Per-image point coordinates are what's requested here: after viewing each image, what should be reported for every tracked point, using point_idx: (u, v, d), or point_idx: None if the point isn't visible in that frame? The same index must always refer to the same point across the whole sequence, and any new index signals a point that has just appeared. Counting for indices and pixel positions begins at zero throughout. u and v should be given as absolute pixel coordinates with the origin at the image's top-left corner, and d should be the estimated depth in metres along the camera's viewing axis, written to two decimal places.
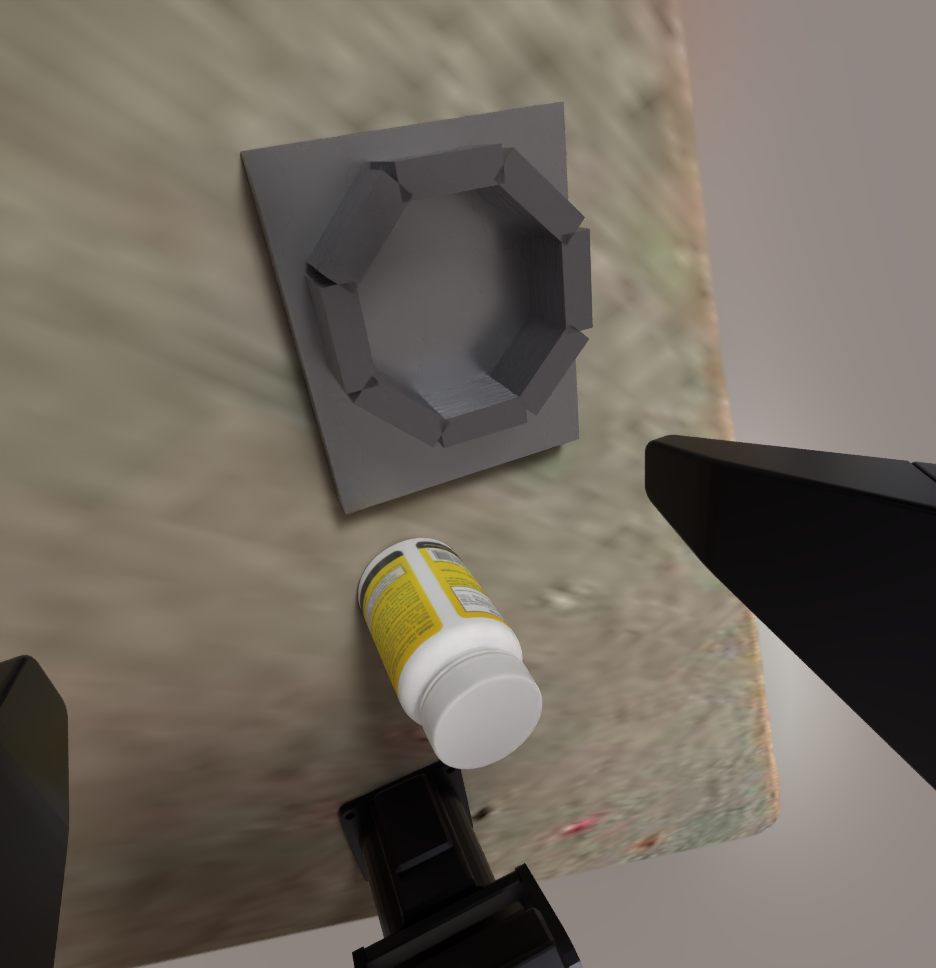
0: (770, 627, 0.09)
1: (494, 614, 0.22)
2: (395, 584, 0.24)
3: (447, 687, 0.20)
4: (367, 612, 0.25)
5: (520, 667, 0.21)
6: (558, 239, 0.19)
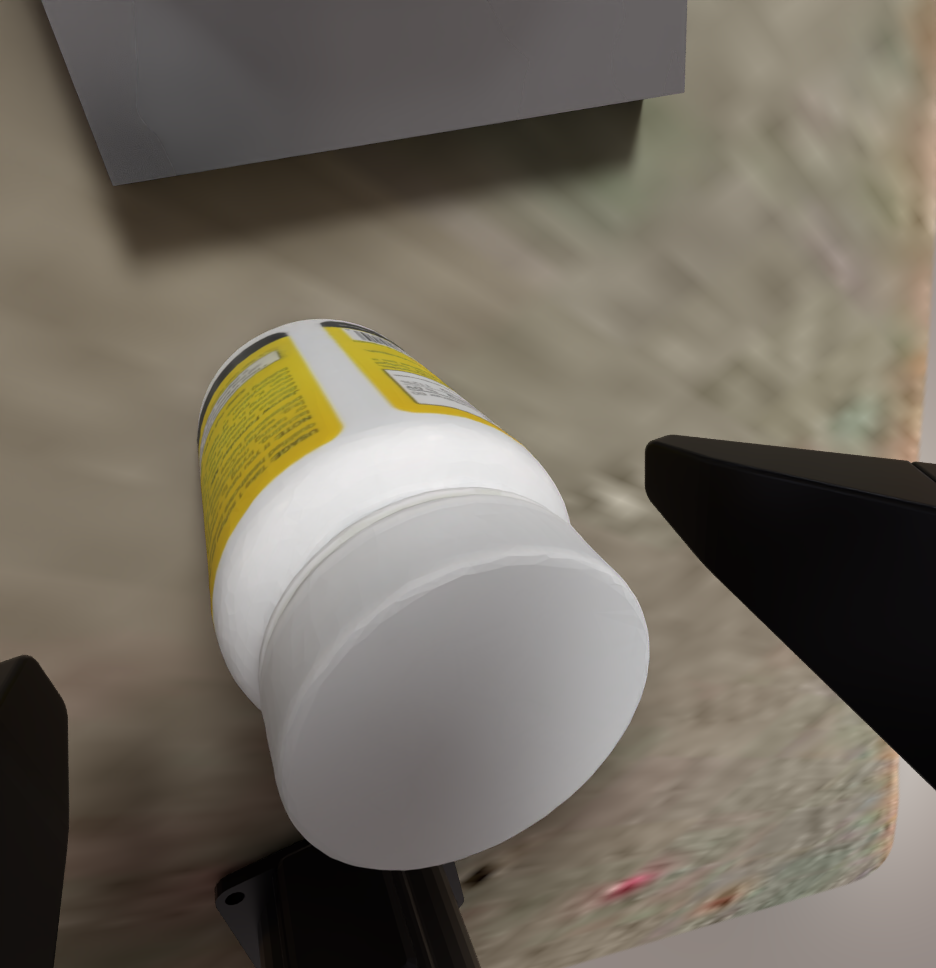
0: (769, 627, 0.09)
1: (498, 426, 0.08)
2: (253, 381, 0.10)
3: (331, 594, 0.05)
4: (199, 465, 0.10)
5: (583, 542, 0.06)
6: None
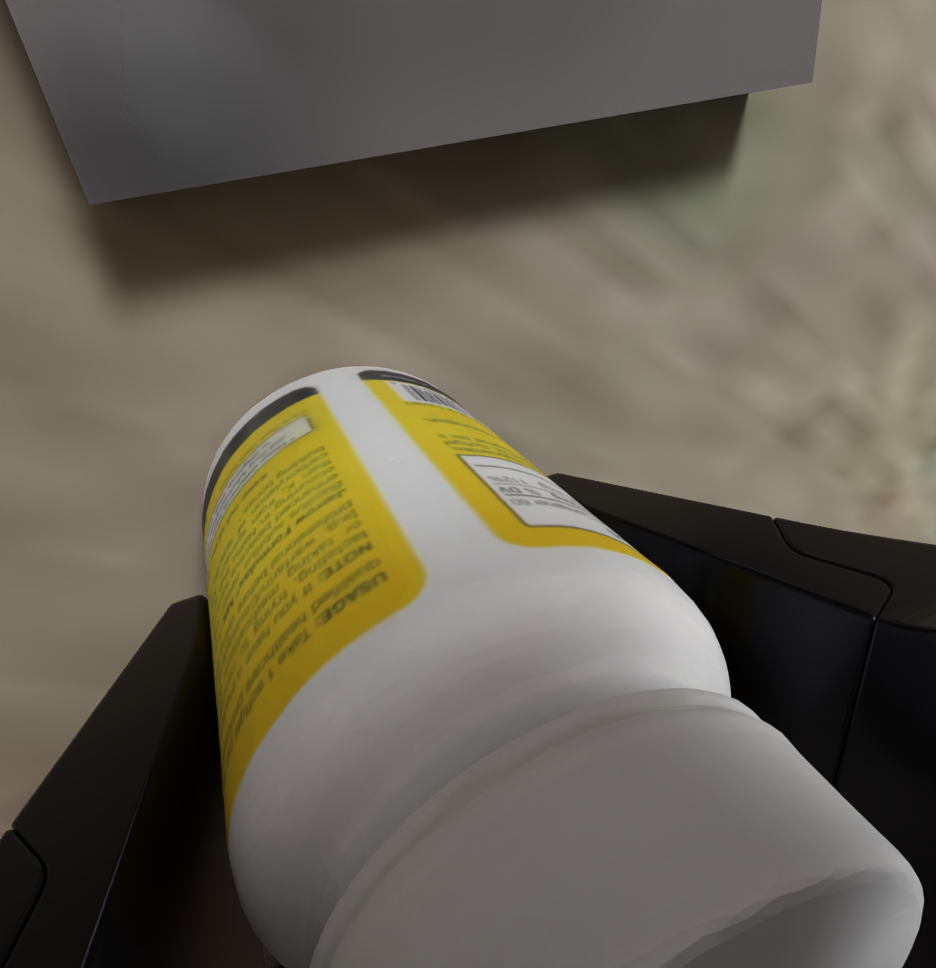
0: None
1: (629, 545, 0.06)
2: (277, 463, 0.07)
3: (449, 947, 0.03)
4: (205, 562, 0.08)
5: (828, 785, 0.04)
6: None
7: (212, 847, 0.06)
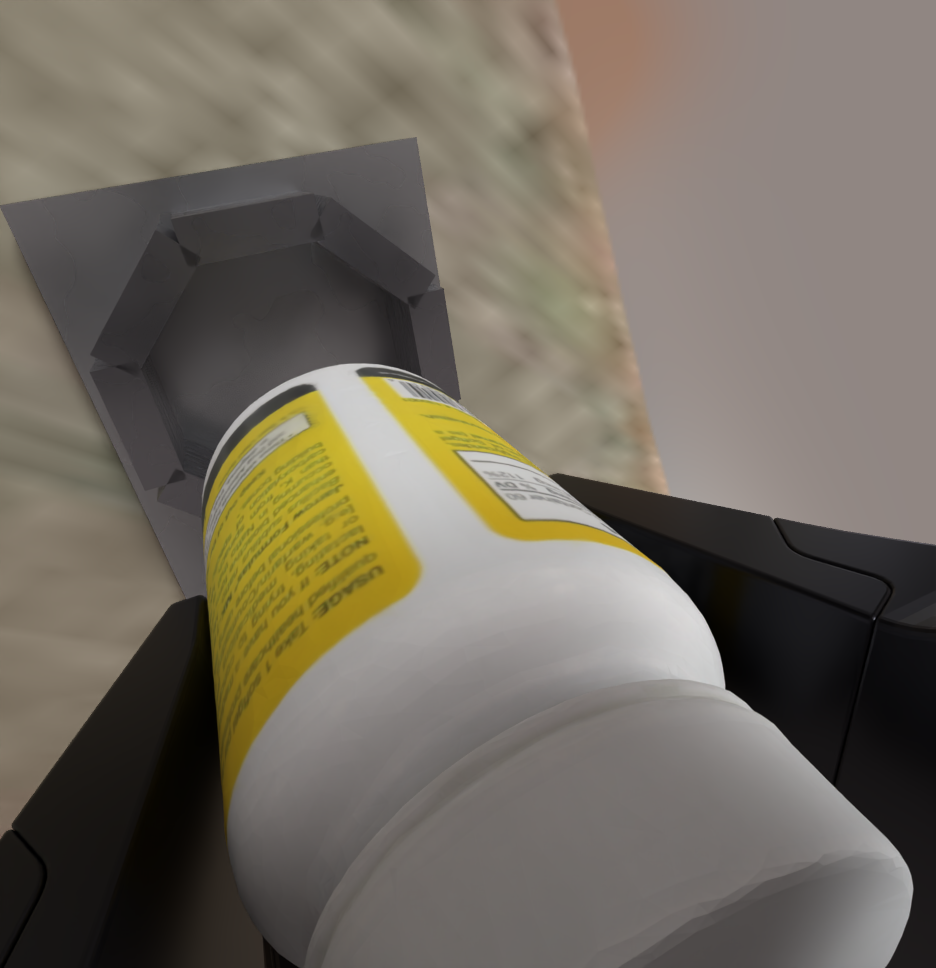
0: None
1: (624, 539, 0.06)
2: (275, 459, 0.07)
3: (442, 933, 0.03)
4: (204, 558, 0.08)
5: (819, 775, 0.04)
6: (404, 301, 0.16)
7: (212, 847, 0.06)
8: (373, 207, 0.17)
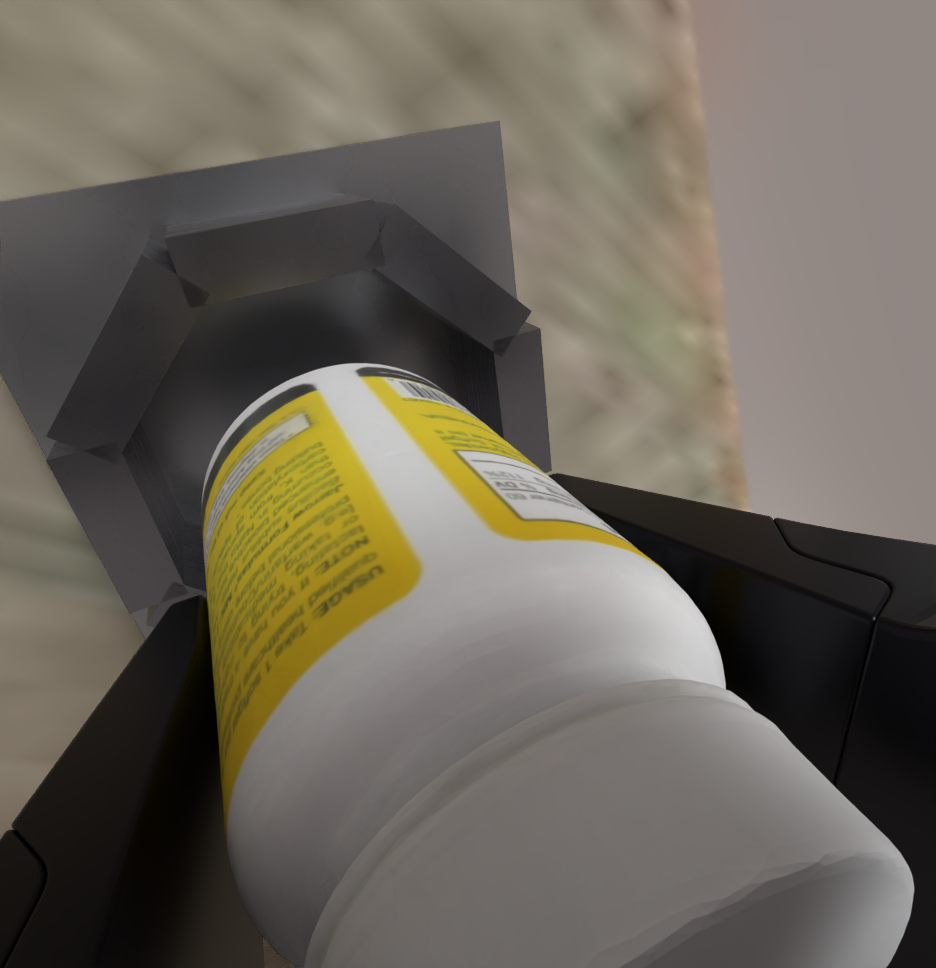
0: None
1: (624, 539, 0.06)
2: (275, 459, 0.07)
3: (442, 933, 0.03)
4: (204, 558, 0.08)
5: (819, 774, 0.04)
6: (488, 347, 0.12)
7: (212, 847, 0.06)
8: (439, 215, 0.13)
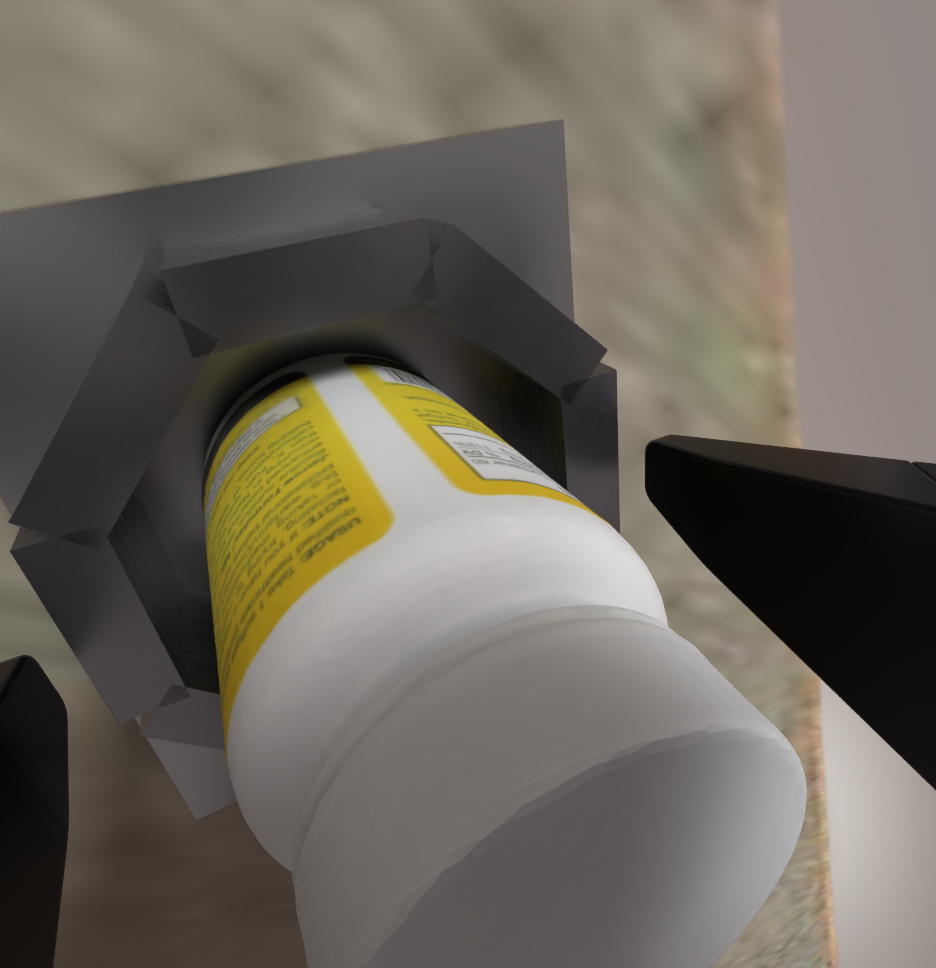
0: (769, 627, 0.09)
1: (577, 500, 0.07)
2: (269, 436, 0.08)
3: (400, 789, 0.04)
4: (205, 531, 0.09)
5: (724, 680, 0.05)
6: (555, 394, 0.09)
7: None
8: (490, 232, 0.11)
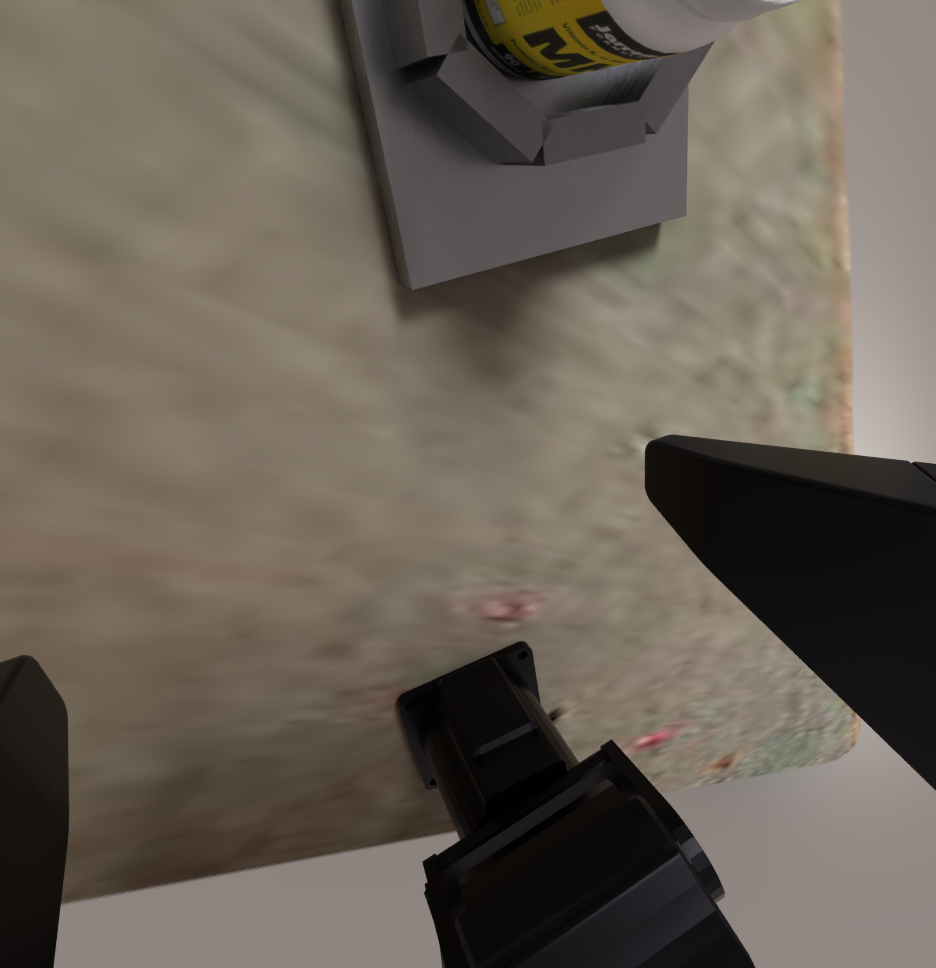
0: (770, 627, 0.09)
1: None
2: None
3: None
4: None
5: None
6: None
7: None
8: None
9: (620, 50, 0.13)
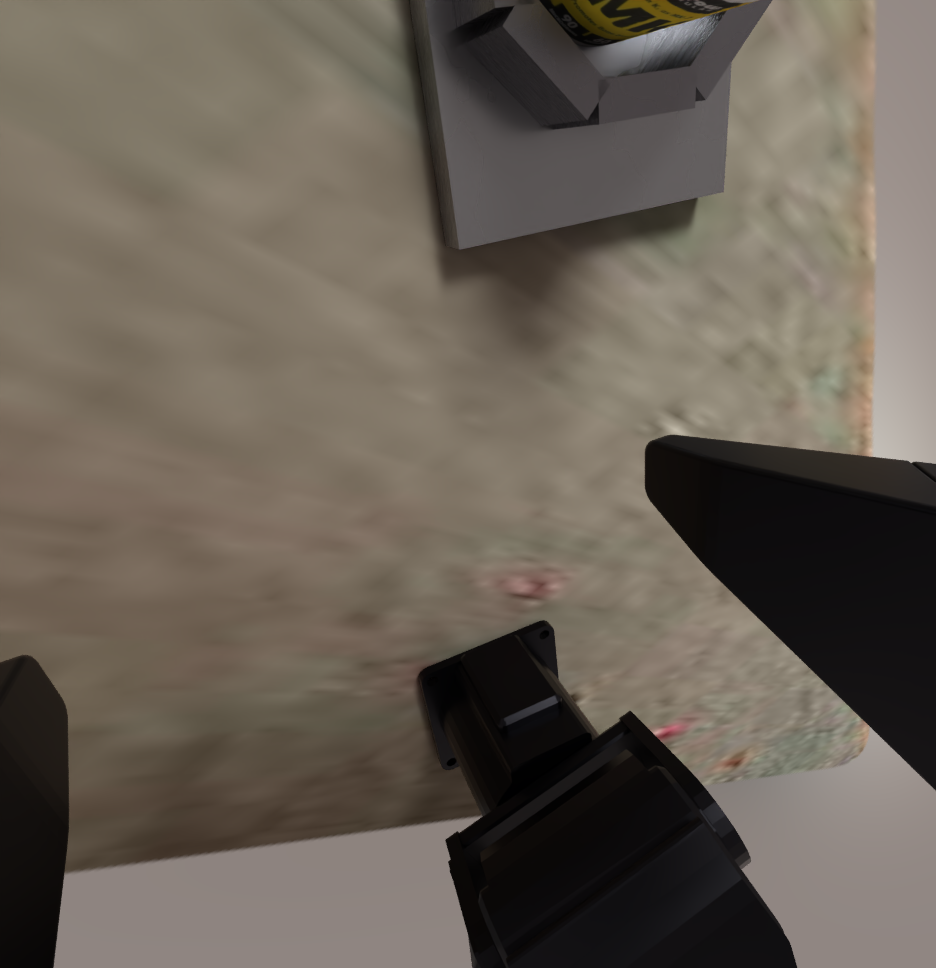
0: (770, 627, 0.09)
1: None
2: None
3: None
4: None
5: None
6: None
7: None
8: None
9: (683, 1, 0.13)
